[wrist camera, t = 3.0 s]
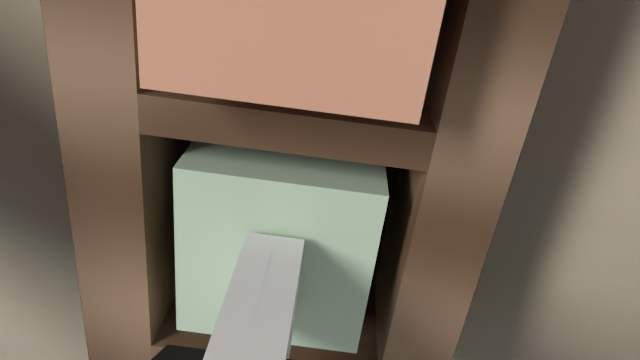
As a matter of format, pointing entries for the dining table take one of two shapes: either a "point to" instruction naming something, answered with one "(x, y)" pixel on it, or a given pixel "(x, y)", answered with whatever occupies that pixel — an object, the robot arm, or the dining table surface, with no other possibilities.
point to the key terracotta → (294, 52)
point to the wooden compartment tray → (301, 139)
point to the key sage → (278, 234)
